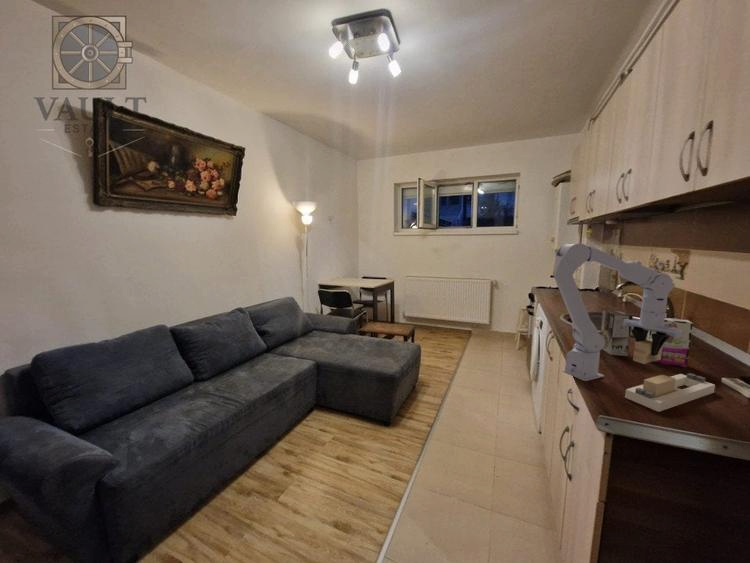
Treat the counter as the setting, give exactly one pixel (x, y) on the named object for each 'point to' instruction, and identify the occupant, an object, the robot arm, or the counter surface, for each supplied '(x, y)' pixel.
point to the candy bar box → (675, 343)
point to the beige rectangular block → (645, 352)
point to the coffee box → (615, 332)
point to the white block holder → (669, 391)
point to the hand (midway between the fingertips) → (647, 353)
